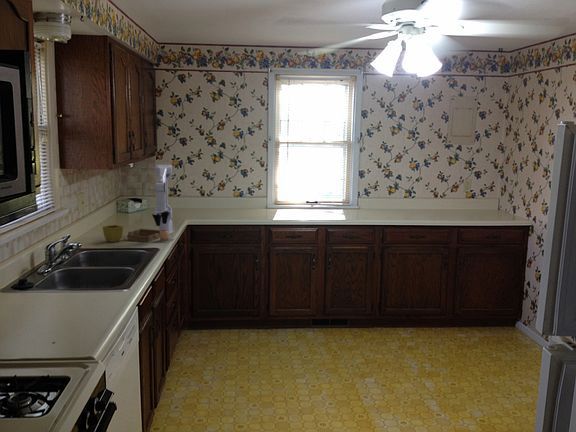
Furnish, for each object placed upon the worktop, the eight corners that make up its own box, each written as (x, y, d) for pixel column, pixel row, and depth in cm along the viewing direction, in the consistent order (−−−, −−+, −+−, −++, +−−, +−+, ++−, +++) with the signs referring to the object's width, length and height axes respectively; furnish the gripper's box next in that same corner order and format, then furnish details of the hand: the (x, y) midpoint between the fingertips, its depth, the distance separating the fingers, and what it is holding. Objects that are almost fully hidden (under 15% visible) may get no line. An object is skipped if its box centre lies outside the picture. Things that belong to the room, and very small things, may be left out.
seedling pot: (162, 239, 345) (162, 229, 344) (170, 239, 343) (169, 229, 342) (158, 240, 340) (158, 230, 339) (166, 241, 339) (165, 231, 338)
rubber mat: (163, 238, 349) (163, 238, 349) (175, 239, 346) (175, 239, 346) (153, 241, 337) (153, 241, 337) (165, 243, 335) (165, 242, 335)
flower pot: (115, 239, 344) (115, 224, 342) (124, 241, 338) (123, 226, 337) (102, 241, 337) (102, 226, 335) (111, 243, 331) (110, 228, 330)
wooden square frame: (140, 235, 355) (140, 228, 354) (160, 237, 351) (160, 230, 350) (127, 240, 341) (127, 232, 341) (148, 241, 337) (148, 234, 336)
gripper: (161, 200, 348) (161, 222, 350) (148, 203, 334) (149, 226, 336) (171, 201, 346) (171, 223, 348) (159, 204, 332) (159, 227, 334)
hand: (161, 224), depth 342 cm, fingers open, 7 cm apart
